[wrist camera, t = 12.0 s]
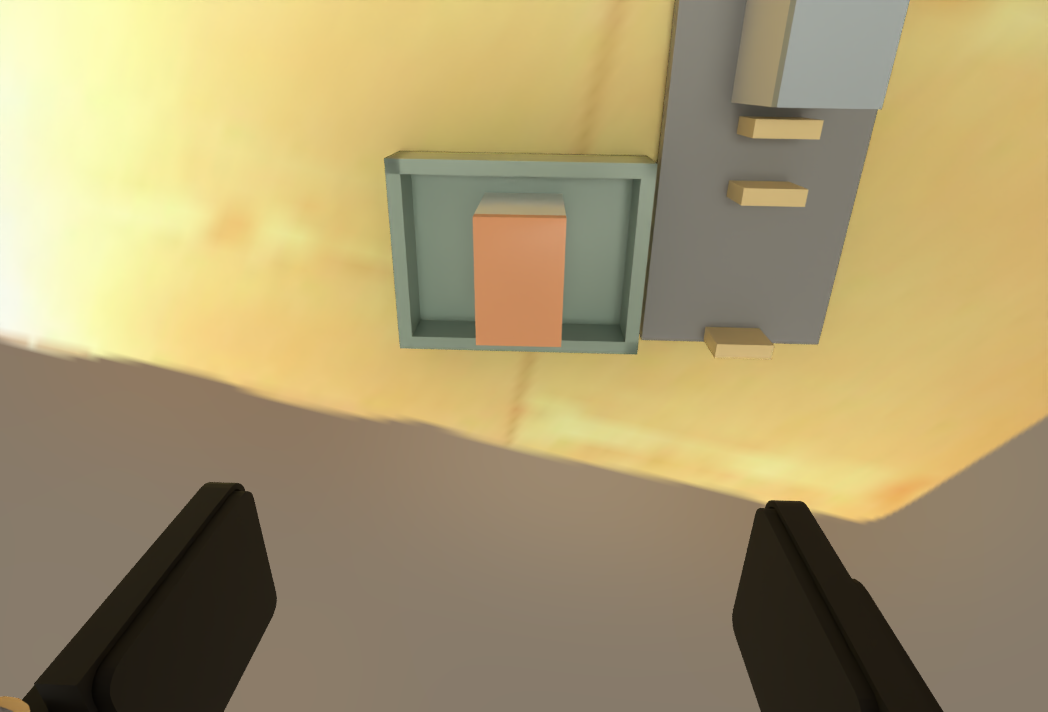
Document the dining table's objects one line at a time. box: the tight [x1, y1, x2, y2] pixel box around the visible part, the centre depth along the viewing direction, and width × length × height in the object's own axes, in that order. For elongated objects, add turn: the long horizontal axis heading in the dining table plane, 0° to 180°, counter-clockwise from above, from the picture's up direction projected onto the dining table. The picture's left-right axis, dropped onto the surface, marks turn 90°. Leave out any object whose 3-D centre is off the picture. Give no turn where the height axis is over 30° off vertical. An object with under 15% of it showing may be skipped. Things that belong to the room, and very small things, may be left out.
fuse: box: [473, 193, 567, 347], centre depth 29 cm, size 4×6×6 cm, turn 179°
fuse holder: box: [639, 0, 910, 359], centre depth 27 cm, size 10×20×7 cm, turn 179°
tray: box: [384, 151, 658, 354], centre depth 31 cm, size 13×10×3 cm
